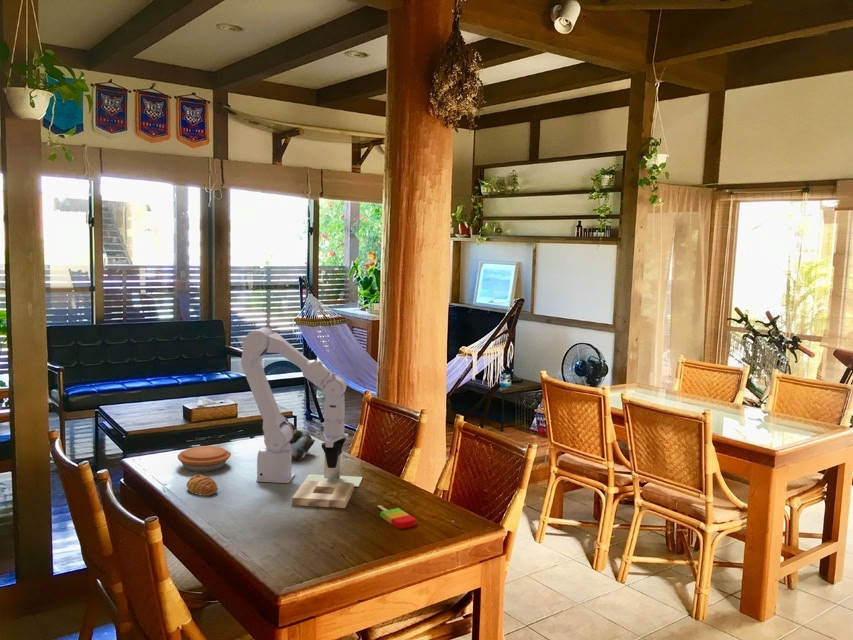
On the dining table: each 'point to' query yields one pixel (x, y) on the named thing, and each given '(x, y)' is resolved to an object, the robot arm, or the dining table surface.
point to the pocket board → (323, 494)
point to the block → (334, 472)
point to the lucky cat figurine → (299, 443)
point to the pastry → (202, 485)
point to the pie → (204, 458)
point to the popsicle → (397, 517)
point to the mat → (342, 479)
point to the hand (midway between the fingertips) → (333, 465)
